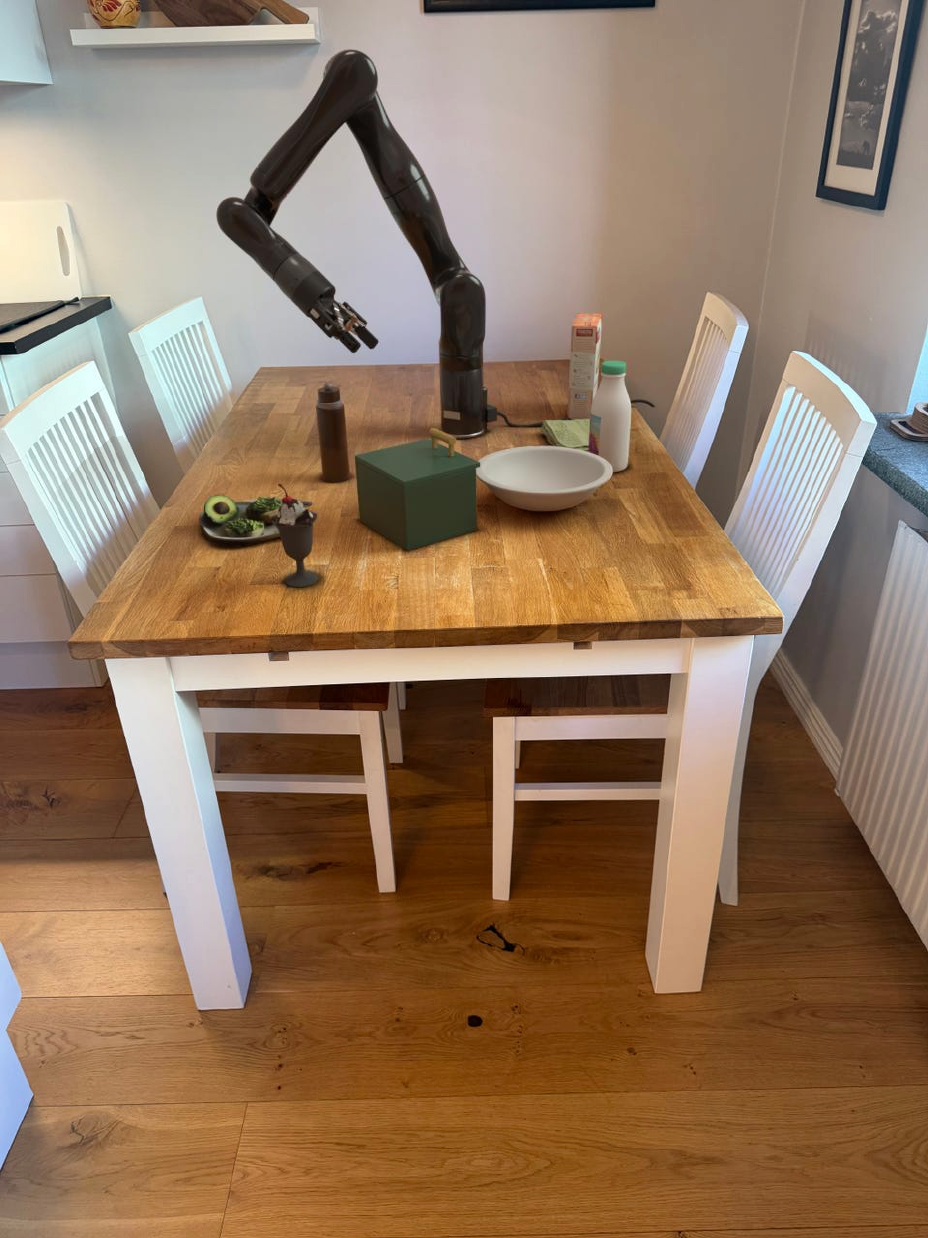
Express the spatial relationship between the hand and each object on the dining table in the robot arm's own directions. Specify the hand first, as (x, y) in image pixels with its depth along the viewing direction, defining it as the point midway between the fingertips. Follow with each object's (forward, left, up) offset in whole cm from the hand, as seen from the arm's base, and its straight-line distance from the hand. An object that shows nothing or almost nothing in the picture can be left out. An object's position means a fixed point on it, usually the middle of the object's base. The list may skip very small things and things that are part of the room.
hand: (366, 347), depth 172 cm
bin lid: (+9, +31, -12) cm, 35 cm away
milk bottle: (-35, +29, -23) cm, 51 cm away
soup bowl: (-13, +36, -23) cm, 45 cm away
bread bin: (+10, +31, -23) cm, 40 cm away
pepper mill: (+10, +2, -23) cm, 25 cm away
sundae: (+35, +38, -23) cm, 56 cm away
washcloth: (-40, +15, -23) cm, 49 cm away
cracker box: (-55, -1, -23) cm, 60 cm away
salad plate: (+33, +14, -23) cm, 42 cm away
